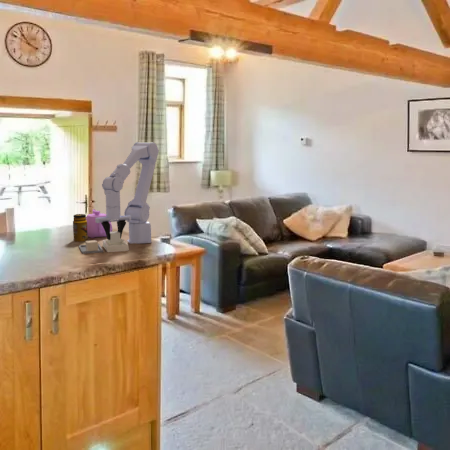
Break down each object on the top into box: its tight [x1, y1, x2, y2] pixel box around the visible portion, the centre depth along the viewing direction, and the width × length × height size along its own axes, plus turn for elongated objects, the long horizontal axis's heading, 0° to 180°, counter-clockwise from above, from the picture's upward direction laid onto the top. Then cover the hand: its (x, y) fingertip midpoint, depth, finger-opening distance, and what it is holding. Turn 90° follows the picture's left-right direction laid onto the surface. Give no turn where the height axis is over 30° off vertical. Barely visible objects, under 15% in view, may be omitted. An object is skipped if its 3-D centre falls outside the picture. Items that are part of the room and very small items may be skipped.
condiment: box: [72, 213, 89, 243], centre depth 227 cm, size 7×8×12 cm
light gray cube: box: [107, 230, 120, 243], centre depth 214 cm, size 4×4×4 cm
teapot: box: [86, 209, 113, 239], centre depth 241 cm, size 20×13×12 cm, turn 23°
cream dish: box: [102, 238, 129, 253], centre depth 212 cm, size 8×12×3 cm
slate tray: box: [78, 243, 105, 255], centre depth 210 cm, size 8×13×1 cm, turn 21°
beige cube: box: [85, 239, 99, 251], centre depth 206 cm, size 4×4×4 cm
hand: (114, 238), depth 214 cm, fingers closed on light gray cube, 4 cm apart
